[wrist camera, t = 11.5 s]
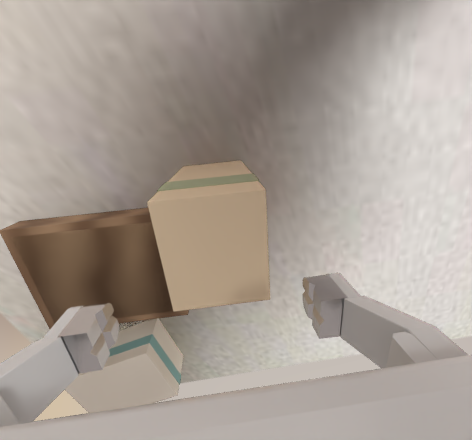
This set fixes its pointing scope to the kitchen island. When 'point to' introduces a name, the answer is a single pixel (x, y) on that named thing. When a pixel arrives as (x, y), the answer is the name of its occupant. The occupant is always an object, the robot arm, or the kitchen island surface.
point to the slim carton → (212, 235)
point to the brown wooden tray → (92, 264)
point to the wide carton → (132, 371)
